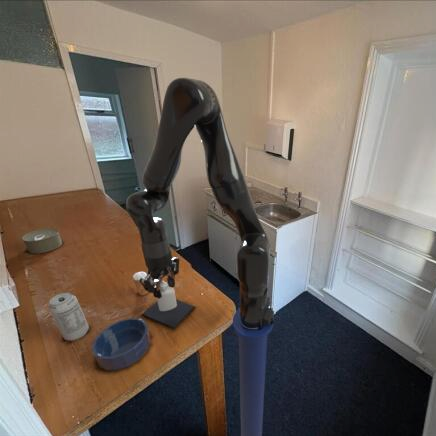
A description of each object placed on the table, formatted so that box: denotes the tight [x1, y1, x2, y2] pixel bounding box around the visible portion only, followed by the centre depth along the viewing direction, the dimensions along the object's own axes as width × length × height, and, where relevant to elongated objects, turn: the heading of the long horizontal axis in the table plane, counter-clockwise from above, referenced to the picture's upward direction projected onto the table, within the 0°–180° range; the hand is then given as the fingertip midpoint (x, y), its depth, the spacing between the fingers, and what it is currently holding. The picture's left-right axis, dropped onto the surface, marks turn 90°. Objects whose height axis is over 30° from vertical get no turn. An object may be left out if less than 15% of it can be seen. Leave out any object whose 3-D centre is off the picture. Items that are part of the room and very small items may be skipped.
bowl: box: [91, 317, 151, 371], centre depth 69 cm, size 13×13×6 cm
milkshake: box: [132, 271, 149, 296], centre depth 89 cm, size 4×5×10 cm
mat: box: [142, 299, 196, 330], centre depth 84 cm, size 14×10×1 cm
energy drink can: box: [48, 292, 90, 341], centre depth 70 cm, size 6×6×15 cm
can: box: [21, 228, 63, 254], centre depth 111 cm, size 12×12×7 cm
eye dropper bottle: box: [156, 280, 177, 311], centre depth 80 cm, size 4×6×12 cm
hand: (165, 291), depth 80 cm, fingers closed on eye dropper bottle, 5 cm apart
